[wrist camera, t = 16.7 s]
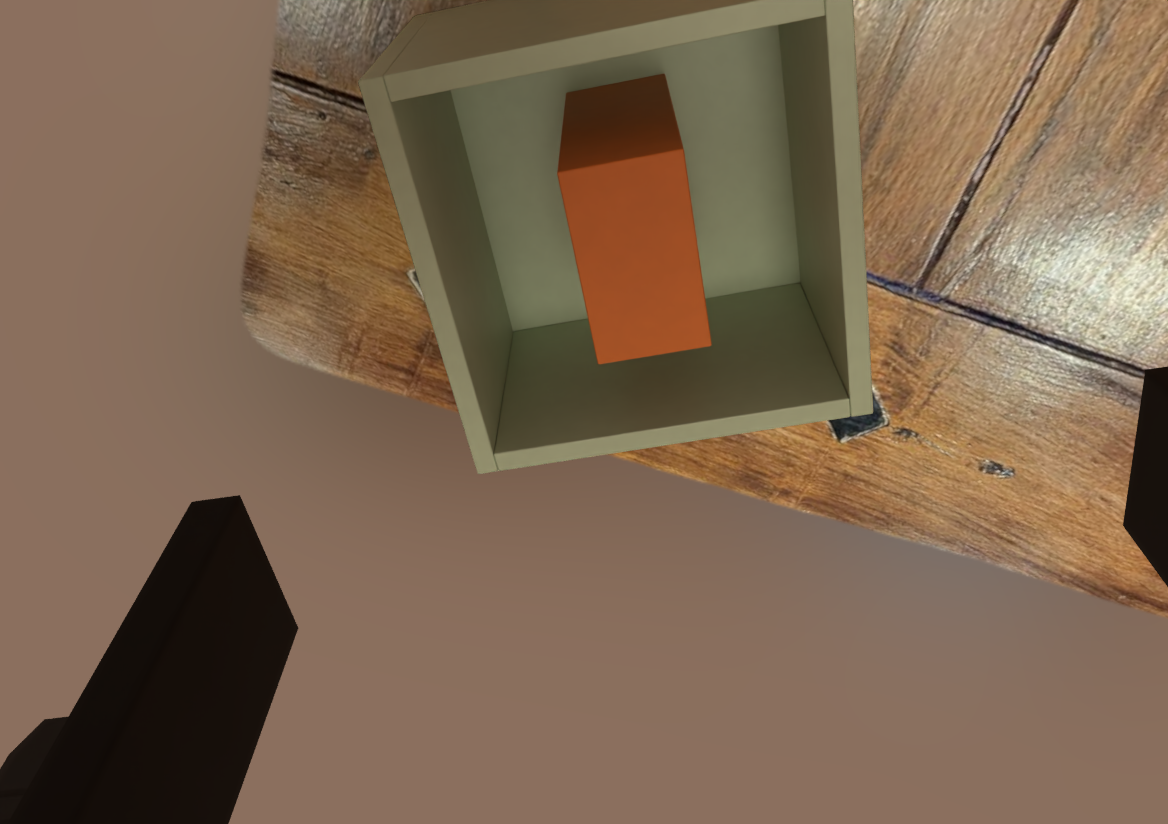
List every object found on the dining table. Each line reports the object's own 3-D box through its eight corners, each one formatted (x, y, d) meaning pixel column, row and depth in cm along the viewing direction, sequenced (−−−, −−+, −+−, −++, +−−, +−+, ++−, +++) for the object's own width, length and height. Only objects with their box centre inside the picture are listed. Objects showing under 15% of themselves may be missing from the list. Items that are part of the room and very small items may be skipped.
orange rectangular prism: (598, 254, 43) (597, 365, 34) (565, 92, 39) (556, 172, 31) (689, 237, 42) (712, 346, 34) (665, 72, 39) (683, 148, 30)
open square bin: (501, 343, 46) (477, 474, 37) (413, 15, 38) (356, 81, 29) (817, 289, 44) (873, 413, 35) (790, -63, 37) (852, -20, 28)
